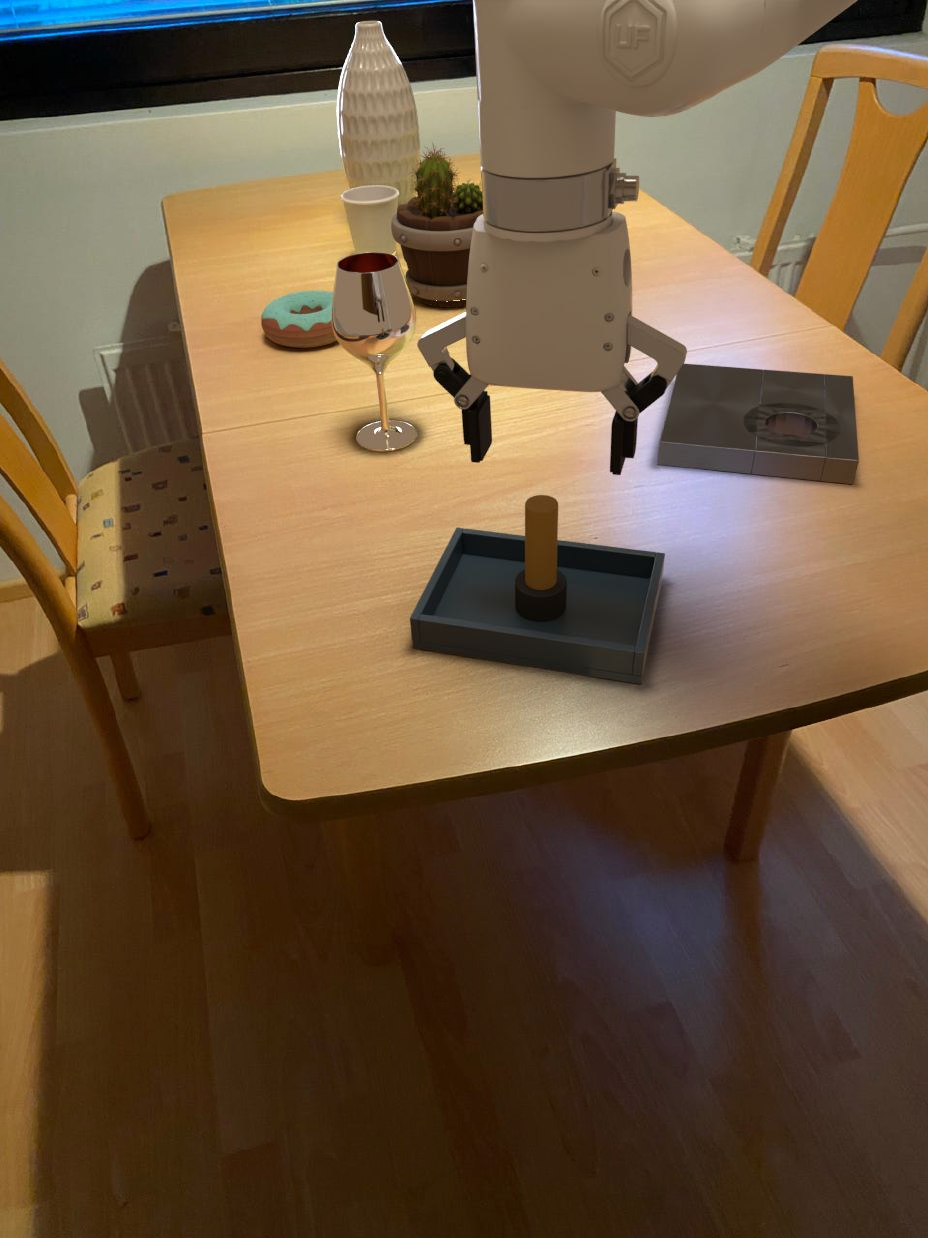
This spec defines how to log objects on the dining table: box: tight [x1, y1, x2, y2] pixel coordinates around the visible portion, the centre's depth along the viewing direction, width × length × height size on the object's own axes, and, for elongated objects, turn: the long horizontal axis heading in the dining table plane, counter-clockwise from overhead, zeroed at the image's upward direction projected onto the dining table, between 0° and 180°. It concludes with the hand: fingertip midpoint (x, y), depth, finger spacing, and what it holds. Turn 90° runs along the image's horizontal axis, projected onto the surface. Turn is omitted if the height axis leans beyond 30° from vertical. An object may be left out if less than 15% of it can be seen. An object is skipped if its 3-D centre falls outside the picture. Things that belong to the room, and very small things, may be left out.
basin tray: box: [409, 527, 666, 685], centre depth 73 cm, size 17×12×3 cm
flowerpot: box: [391, 141, 483, 308], centre depth 121 cm, size 14×15×20 cm
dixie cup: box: [340, 185, 399, 254], centre depth 135 cm, size 8×8×10 cm
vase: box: [336, 20, 421, 208], centre depth 145 cm, size 13×13×28 cm
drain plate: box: [656, 363, 860, 485], centre depth 94 cm, size 18×18×2 cm
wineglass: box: [331, 252, 418, 453], centre depth 91 cm, size 8×8×18 cm
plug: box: [515, 494, 567, 622], centre depth 70 cm, size 4×4×10 cm
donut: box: [260, 290, 338, 349], centre depth 118 cm, size 12×12×4 cm
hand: (548, 458), depth 64 cm, fingers open, 9 cm apart
